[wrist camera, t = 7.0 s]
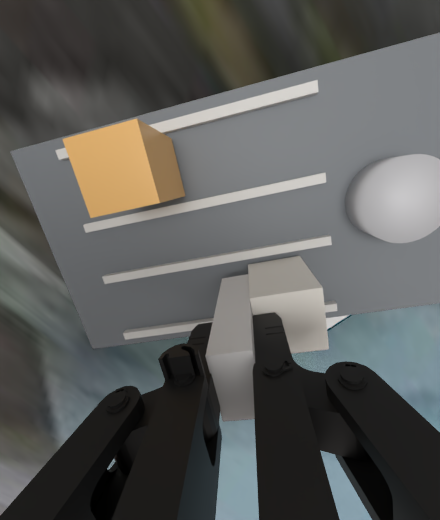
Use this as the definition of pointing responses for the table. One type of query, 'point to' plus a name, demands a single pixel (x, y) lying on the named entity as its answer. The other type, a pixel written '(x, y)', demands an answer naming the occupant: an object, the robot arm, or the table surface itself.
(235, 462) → the table surface
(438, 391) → the table surface
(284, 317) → the slider ivory
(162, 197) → the slider orange
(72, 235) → the console
